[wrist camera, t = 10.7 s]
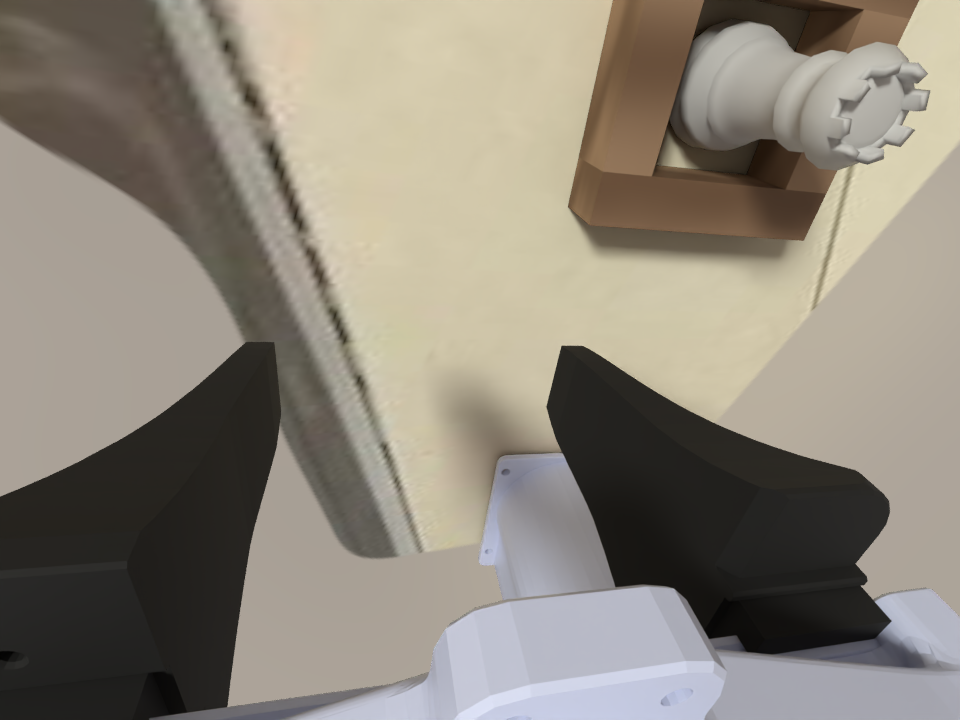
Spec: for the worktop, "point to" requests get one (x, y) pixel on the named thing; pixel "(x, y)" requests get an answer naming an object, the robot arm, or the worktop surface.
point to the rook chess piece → (795, 96)
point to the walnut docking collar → (645, 114)
